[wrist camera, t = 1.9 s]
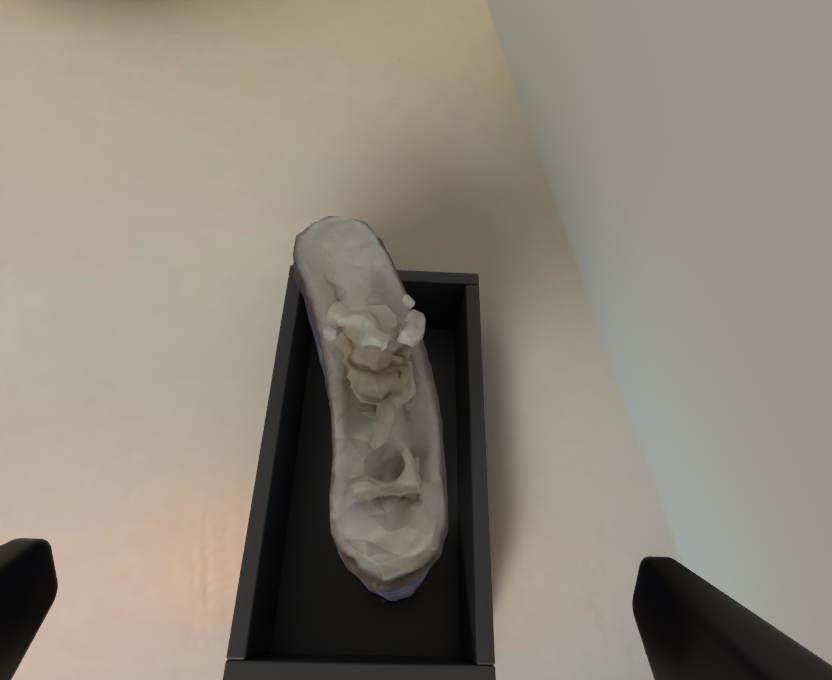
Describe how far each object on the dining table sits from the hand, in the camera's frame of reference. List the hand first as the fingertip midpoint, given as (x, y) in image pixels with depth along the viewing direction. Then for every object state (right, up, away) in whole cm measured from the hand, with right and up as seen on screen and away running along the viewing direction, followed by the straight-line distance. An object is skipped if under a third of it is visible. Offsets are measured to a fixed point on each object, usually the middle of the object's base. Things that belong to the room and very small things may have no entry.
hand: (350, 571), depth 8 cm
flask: (0, -1, +12) cm, 12 cm away
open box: (0, -1, +12) cm, 12 cm away
